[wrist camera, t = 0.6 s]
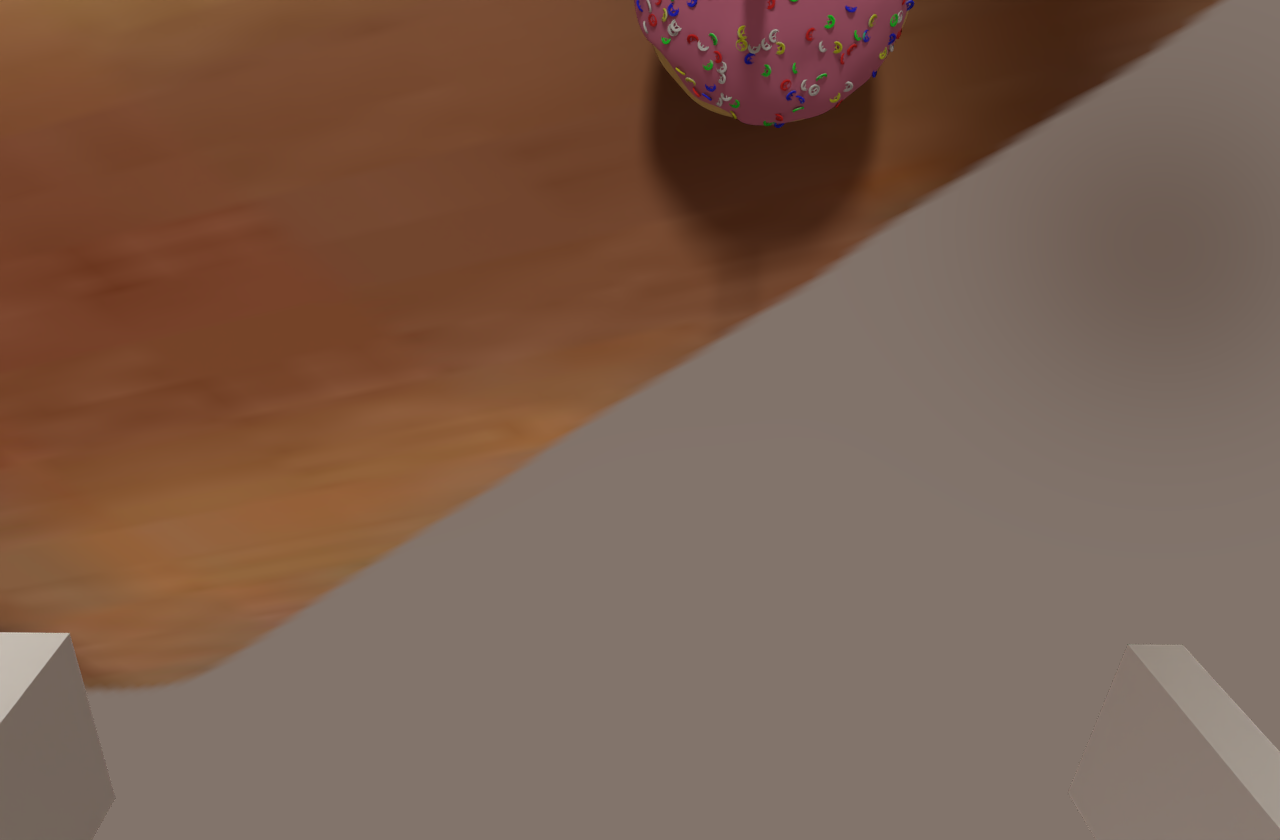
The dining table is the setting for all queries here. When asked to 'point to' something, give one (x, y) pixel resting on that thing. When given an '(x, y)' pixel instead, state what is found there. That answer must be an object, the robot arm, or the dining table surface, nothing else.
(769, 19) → the cupcake
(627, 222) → the dining table surface
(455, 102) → the dining table surface
